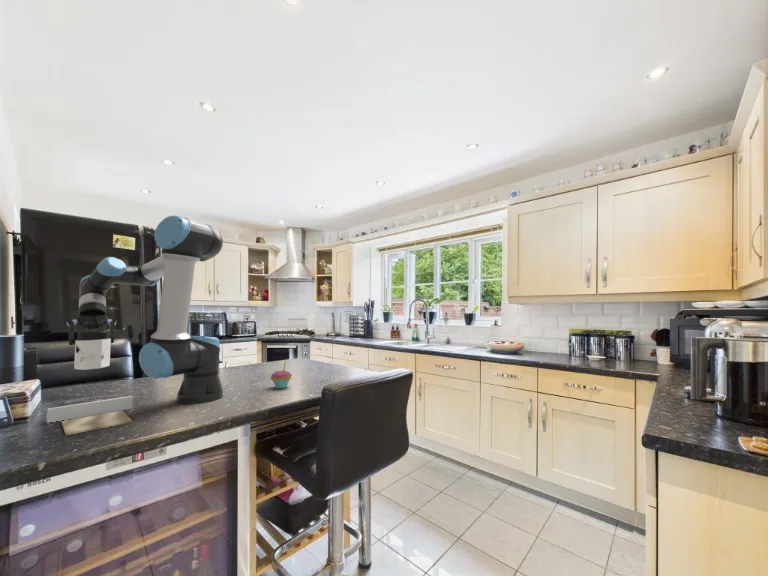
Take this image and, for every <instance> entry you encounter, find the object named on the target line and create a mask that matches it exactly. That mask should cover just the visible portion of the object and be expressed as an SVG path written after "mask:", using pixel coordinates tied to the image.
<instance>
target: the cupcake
mask: <svg viewBox="0 0 768 576" xmlns="http://www.w3.org/2000/svg"><path fill="white" fill-rule="evenodd" d="M286 365H287V360H285V361H284V363H283V370H276V371H274V372H273V373H272V374H271V375H270V380H271V381H272V382H273V384H274V388H275V389H278V388H282V389H286V388H288V384H289V383H290V380H291V379H292V376H293V375H292V374H291V373H290V372H289V371H287V370H286ZM285 387H286V388H285Z"/></svg>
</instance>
